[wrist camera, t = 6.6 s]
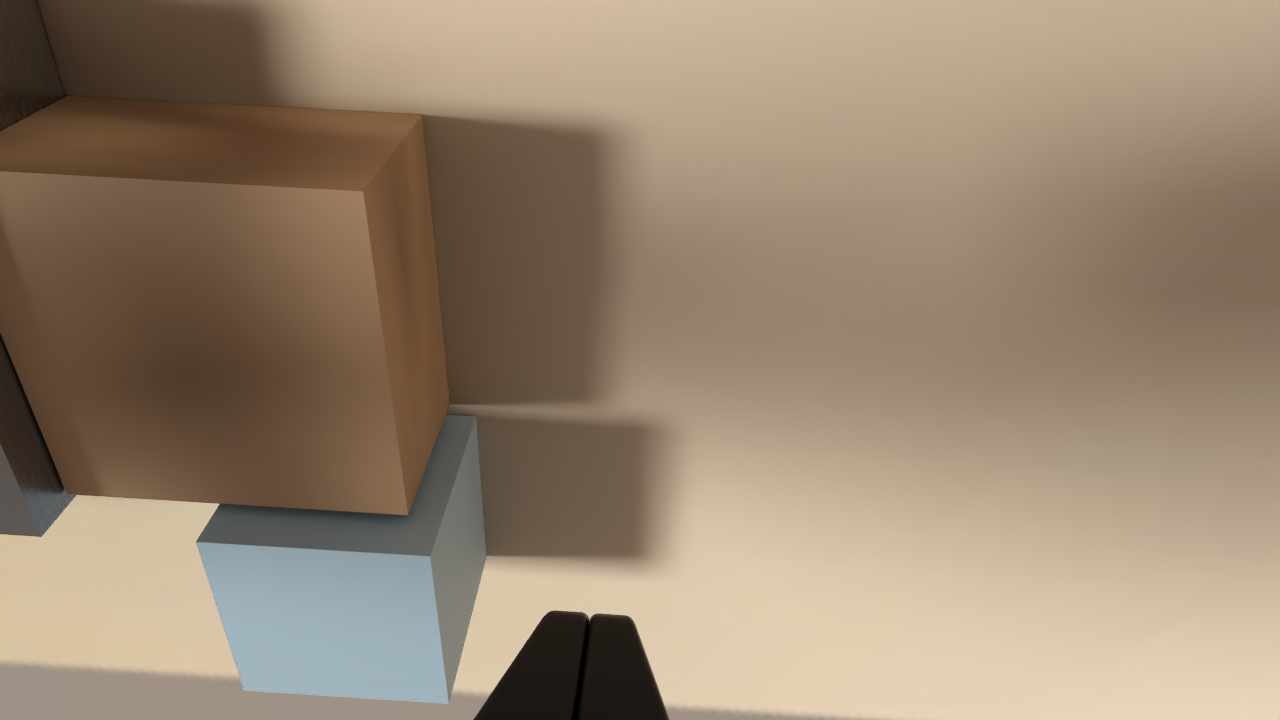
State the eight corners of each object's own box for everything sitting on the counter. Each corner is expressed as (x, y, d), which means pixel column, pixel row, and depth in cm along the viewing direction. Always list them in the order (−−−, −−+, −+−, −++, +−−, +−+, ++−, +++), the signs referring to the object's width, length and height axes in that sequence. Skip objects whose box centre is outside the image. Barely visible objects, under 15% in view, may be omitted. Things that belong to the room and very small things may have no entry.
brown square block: (164, 379, 19) (66, 493, 16) (76, 91, 15) (-68, 167, 12) (452, 397, 19) (408, 515, 16) (426, 110, 15) (363, 191, 12)
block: (314, 542, 21) (244, 690, 18) (284, 402, 19) (195, 542, 15) (487, 553, 21) (448, 703, 18) (476, 414, 19) (430, 556, 15)
